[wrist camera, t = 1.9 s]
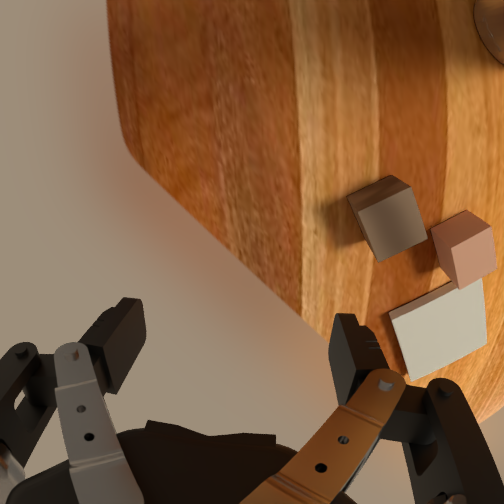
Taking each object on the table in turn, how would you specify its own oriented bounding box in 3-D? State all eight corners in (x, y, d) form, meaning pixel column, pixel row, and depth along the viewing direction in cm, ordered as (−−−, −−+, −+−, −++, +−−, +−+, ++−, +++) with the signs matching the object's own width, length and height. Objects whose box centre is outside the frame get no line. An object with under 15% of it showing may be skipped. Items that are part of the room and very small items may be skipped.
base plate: (475, 268, 30) (481, 274, 29) (482, 337, 34) (486, 343, 32) (388, 312, 33) (391, 320, 32) (408, 374, 37) (411, 381, 36)
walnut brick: (391, 174, 27) (411, 186, 23) (408, 220, 29) (427, 238, 24) (346, 196, 29) (357, 212, 24) (365, 240, 30) (378, 262, 26)
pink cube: (467, 209, 28) (491, 226, 23) (475, 248, 29) (497, 268, 25) (430, 228, 29) (450, 248, 25) (440, 267, 31) (459, 290, 26)
